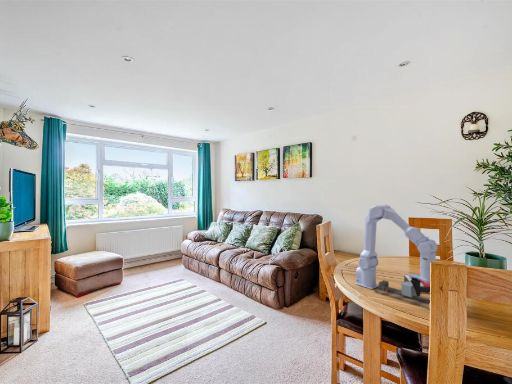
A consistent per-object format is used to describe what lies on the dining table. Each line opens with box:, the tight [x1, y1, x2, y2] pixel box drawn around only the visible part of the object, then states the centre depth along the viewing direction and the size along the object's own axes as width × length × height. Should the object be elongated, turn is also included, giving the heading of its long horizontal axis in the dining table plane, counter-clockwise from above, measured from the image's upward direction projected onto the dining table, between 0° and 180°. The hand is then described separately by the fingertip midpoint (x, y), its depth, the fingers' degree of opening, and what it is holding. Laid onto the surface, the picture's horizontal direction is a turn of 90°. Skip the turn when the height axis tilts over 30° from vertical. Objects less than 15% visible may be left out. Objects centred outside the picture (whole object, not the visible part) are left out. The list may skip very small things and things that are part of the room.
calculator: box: [403, 274, 430, 294], centre depth 127 cm, size 11×4×15 cm
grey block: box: [401, 281, 416, 297], centre depth 113 cm, size 4×6×5 cm
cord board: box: [374, 280, 430, 310], centre depth 114 cm, size 25×10×4 cm, turn 37°
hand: (428, 298), depth 107 cm, fingers open, 7 cm apart
